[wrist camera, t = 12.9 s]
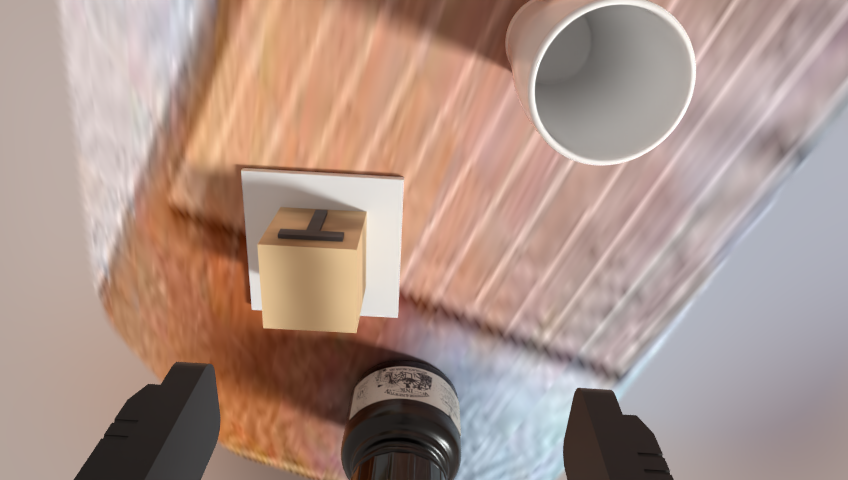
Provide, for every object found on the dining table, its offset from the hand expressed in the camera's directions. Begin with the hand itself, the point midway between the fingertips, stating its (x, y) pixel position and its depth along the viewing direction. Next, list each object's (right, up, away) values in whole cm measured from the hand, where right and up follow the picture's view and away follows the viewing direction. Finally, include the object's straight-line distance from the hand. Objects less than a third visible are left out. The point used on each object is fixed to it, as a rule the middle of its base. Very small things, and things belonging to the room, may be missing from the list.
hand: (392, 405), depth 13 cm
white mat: (-6, +3, +30) cm, 31 cm away
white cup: (+8, +16, +24) cm, 30 cm away
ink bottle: (-1, -9, +36) cm, 38 cm away
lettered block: (-6, +3, +30) cm, 30 cm away
